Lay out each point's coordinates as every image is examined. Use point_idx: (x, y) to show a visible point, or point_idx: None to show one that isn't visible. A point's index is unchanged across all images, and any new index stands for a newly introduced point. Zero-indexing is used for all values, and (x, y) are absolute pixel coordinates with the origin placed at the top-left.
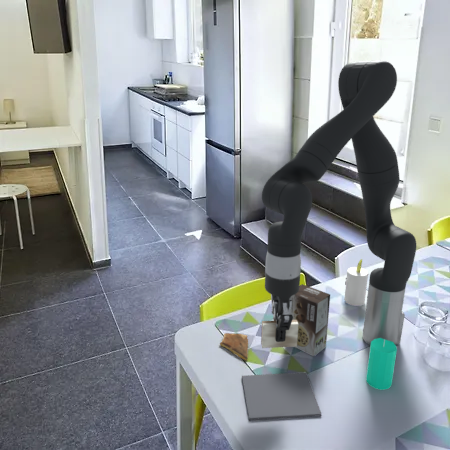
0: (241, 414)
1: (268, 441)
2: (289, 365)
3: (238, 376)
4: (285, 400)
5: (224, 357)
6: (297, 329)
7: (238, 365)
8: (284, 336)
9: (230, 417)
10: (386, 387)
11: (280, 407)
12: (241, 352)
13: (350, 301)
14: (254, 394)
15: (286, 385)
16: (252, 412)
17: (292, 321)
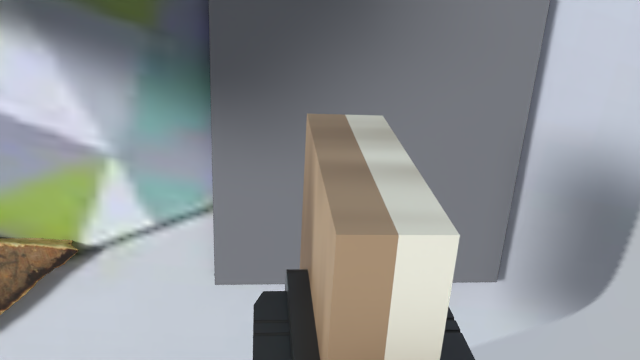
0: (452, 300)
1: (618, 219)
2: (115, 7)
3: (204, 291)
4: (427, 109)
5: (47, 342)
6: (430, 200)
7: (115, 285)
8: (456, 323)
9: None
10: None
11: (467, 143)
12: (18, 275)
13: None
14: None
15: (315, 78)
16: (467, 266)
17: (378, 301)
